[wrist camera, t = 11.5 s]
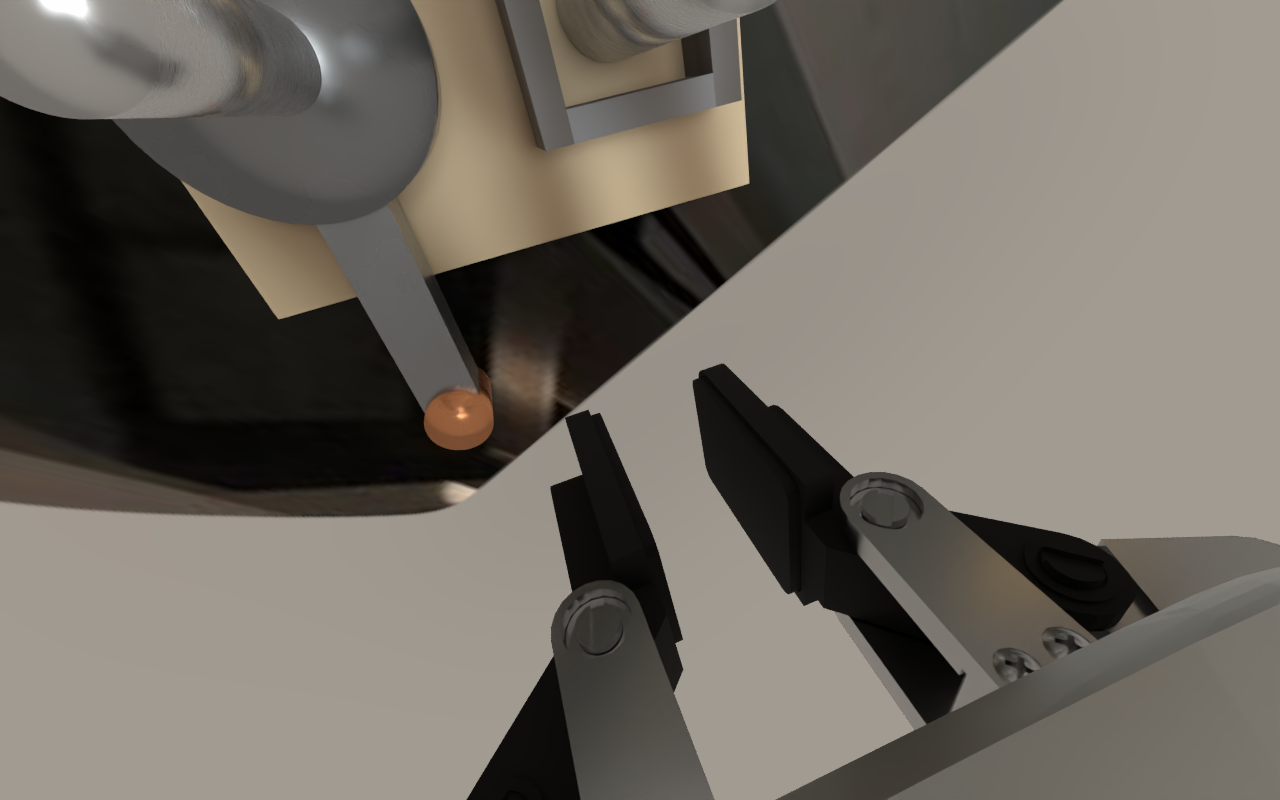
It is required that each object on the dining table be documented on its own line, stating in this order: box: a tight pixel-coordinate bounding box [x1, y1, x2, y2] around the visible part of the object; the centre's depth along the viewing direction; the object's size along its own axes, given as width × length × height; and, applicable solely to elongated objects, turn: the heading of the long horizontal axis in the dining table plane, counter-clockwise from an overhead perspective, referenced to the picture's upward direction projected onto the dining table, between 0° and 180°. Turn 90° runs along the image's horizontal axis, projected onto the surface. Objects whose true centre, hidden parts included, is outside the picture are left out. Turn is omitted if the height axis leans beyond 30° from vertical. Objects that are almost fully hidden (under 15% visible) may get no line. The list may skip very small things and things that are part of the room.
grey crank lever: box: [0, 0, 494, 450], centre depth 13 cm, size 8×17×11 cm, turn 12°
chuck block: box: [182, 0, 749, 320], centre depth 16 cm, size 20×14×8 cm
